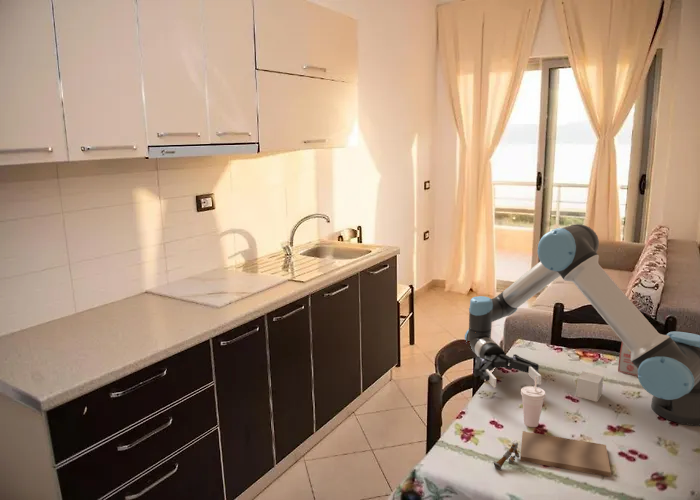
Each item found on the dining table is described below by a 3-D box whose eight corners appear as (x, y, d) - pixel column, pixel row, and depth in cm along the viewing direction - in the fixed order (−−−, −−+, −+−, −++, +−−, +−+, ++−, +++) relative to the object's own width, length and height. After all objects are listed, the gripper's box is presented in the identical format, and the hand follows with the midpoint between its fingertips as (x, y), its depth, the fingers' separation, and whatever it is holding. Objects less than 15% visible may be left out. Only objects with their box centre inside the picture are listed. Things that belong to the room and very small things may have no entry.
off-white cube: (601, 394, 166) (603, 376, 164) (596, 402, 161) (598, 383, 160) (581, 389, 169) (582, 371, 168) (575, 396, 164) (577, 378, 163)
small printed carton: (620, 367, 184) (623, 339, 182) (642, 372, 180) (645, 344, 178) (617, 371, 181) (620, 343, 179) (640, 376, 177) (643, 347, 175)
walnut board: (605, 449, 137) (605, 444, 136) (610, 476, 126) (610, 472, 125) (522, 435, 143) (522, 431, 143) (520, 460, 132) (520, 456, 132)
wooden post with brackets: (523, 455, 133) (519, 442, 131) (503, 478, 130) (499, 465, 128) (517, 452, 134) (513, 439, 133) (497, 474, 131) (493, 461, 129)
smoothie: (546, 429, 146) (550, 381, 143) (523, 429, 146) (525, 381, 143) (539, 417, 152) (542, 371, 149) (516, 417, 152) (518, 371, 149)
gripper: (525, 361, 180) (557, 390, 159) (452, 366, 177) (475, 396, 156) (526, 340, 178) (559, 366, 158) (453, 344, 175) (476, 372, 155)
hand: (517, 381), depth 157 cm, fingers open, 13 cm apart
